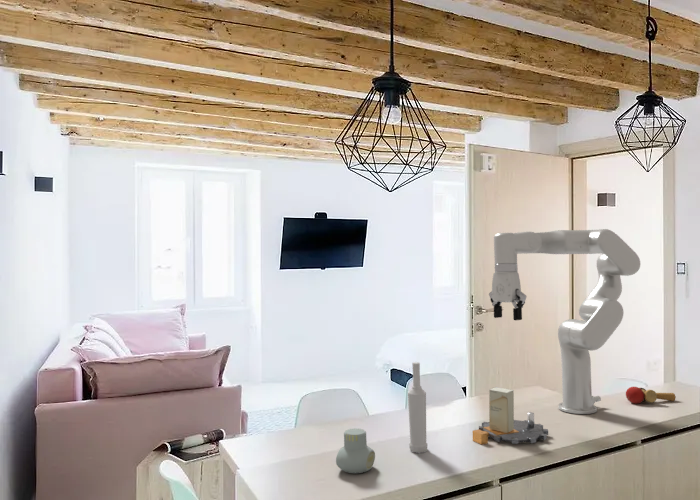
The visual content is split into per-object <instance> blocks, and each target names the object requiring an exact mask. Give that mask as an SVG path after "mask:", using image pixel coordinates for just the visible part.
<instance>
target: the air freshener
mask: <svg viewBox="0 0 700 500" xmlns="http://www.w3.org/2000/svg"><path fill="white" fill-rule="evenodd" d="M367 442H368V441H367V431H366V430H365V429H362V428H349V429H347V430H345V431H344V432H343V446H342V447H341V448H340V449H339V450H338V451H337V454H336V458H335V463H336V467H338V468H339V469H340V470H341V471H343V472H345V473H348V474H363V472H364V473H366V472H368V471H370V470H371V469H372V468H373V466H374V464H375V459H376V453H375V451H374V449H373V448H371V447H370V446H368V445H367Z"/></svg>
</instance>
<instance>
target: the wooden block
mask: <svg viewBox="0 0 700 500" xmlns="http://www.w3.org/2000/svg"><path fill="white" fill-rule="evenodd" d="M472 442H475V443H477V444H480V445H482V446H483V445H487V444H488V443H489V437H488V433H486V432H484V431H481V430H479V428H478V429H475V430H472Z"/></svg>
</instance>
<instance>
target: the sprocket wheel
mask: <svg viewBox="0 0 700 500" xmlns="http://www.w3.org/2000/svg"><path fill="white" fill-rule="evenodd" d="M526 415H527V419H526V420H519V419H514V430H512V431H510V432H508V433H505V432H500V431H496V430H492V429H490V425H489V421H488V422H487V421H483V422H481V426H480V425H479V426H478V429H479V430H481V431H484V432H486V433H488V438H491V439H493V441H494V442H499V443H500V442H502V441H503V442H509V443H511V444H517V445H519V443H530V444H536V443H537V441H539V440H542V441H546V439H547V438H548V437H547V436H549V429H548V428H544V425H543V424H541V423H535V412H534V411H533V412H531V411H527V414H526Z"/></svg>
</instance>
